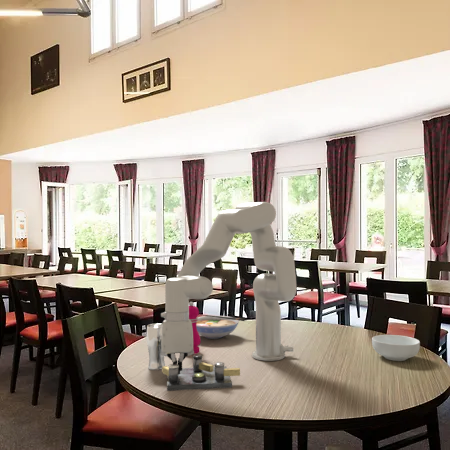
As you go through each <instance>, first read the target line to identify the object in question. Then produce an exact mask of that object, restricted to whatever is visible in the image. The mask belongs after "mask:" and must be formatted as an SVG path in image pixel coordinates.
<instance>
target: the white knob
mask: <svg viewBox="0 0 450 450" xmlns="http://www.w3.org/2000/svg"><path fill="white" fill-rule="evenodd" d="M178 368H179V365H178V363H177V364H173V363H170V364H169V365H165V366H163V367H162V370H161V372H162V374H163V375H165V376H169V381H171V382H175V381H178Z"/></svg>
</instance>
